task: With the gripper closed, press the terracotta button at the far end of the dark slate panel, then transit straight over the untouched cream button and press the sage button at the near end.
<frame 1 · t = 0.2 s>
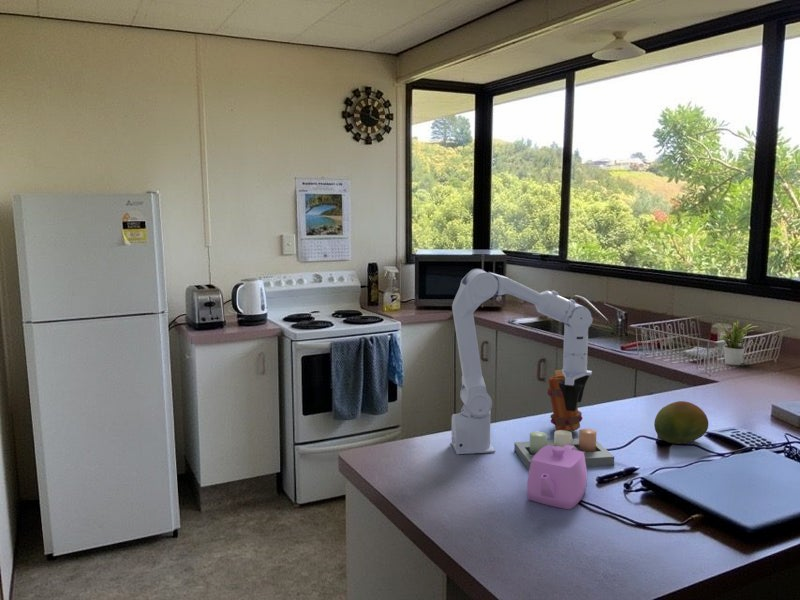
hand: (573, 406, 159), 10 cm above the worktop, fingers open, 7 cm apart
fruit: (679, 443, 160), on the worktop
house plant: (736, 364, 234), on the worktop
teapot: (556, 496, 132), on the worktop
button terracotta: (587, 440, 152), point 4 cm above the worktop, slide at 0.0 cm
button cream: (562, 441, 151), point 4 cm above the worktop, slide at 0.0 cm
mug: (567, 428, 170), on the worktop
button sage: (538, 443, 151), point 4 cm above the worktop, slide at 0.0 cm
panel: (562, 457, 152), on the worktop
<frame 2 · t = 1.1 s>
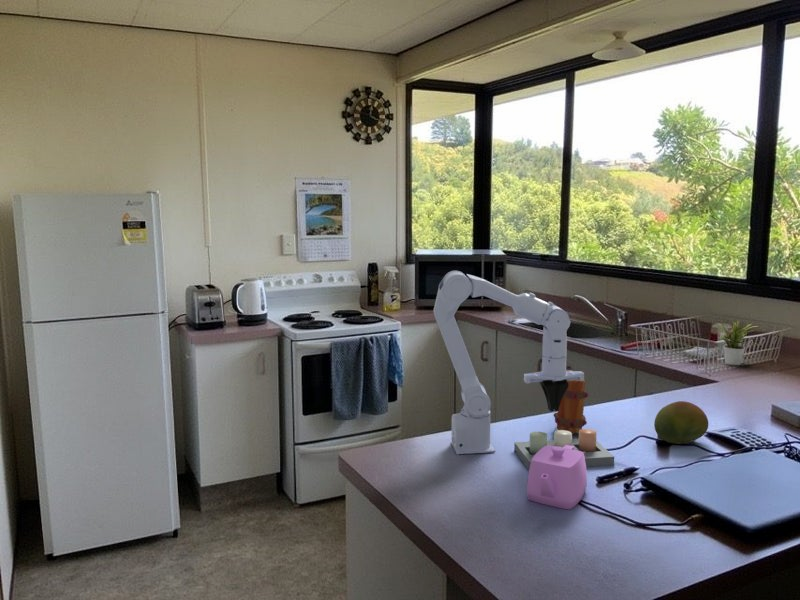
hand: (553, 409, 157), 9 cm above the worktop, fingers closed
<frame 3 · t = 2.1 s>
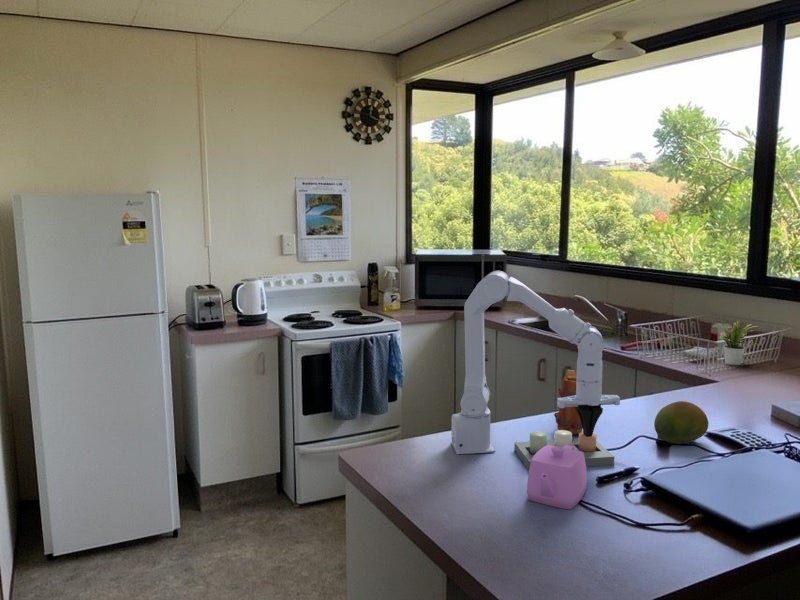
hand: (587, 435, 152), 5 cm above the worktop, fingers closed, pressing on button terracotta
button terracotta: (587, 443, 152), point 3 cm above the worktop, slide at 0.8 cm, touching gripper
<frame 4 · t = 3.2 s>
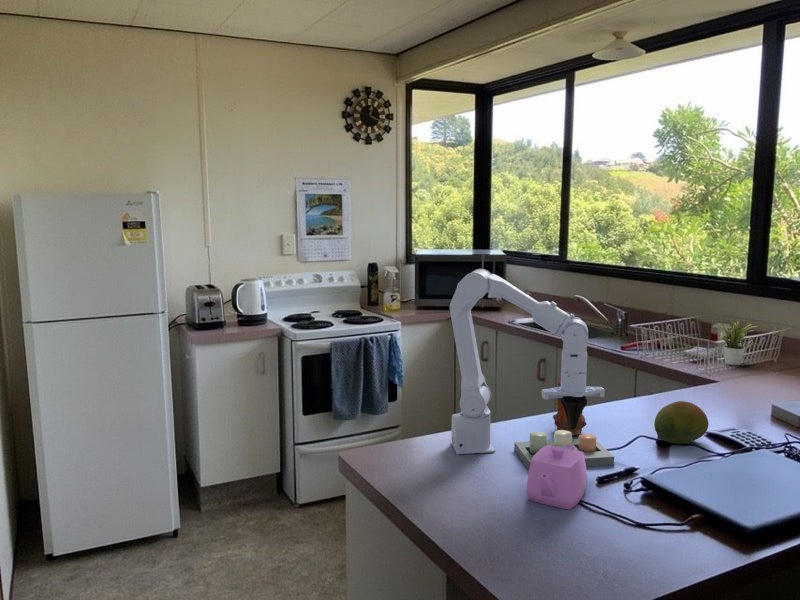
hand: (572, 426, 151), 7 cm above the worktop, fingers closed
button terracotta: (587, 445, 152), point 3 cm above the worktop, slide at 1.3 cm
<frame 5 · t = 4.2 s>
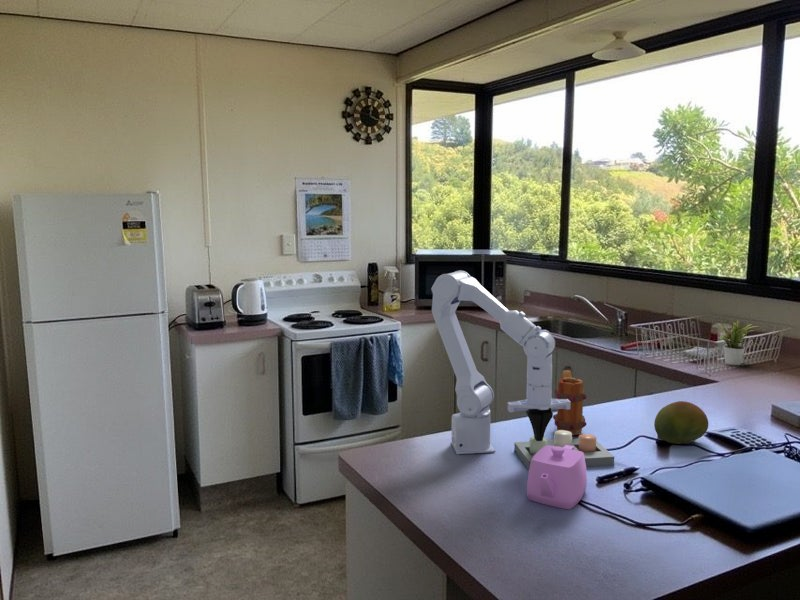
hand: (538, 439, 150), 5 cm above the worktop, fingers closed, pressing on button sage
button sage: (538, 448, 151), point 3 cm above the worktop, slide at 1.2 cm, touching gripper
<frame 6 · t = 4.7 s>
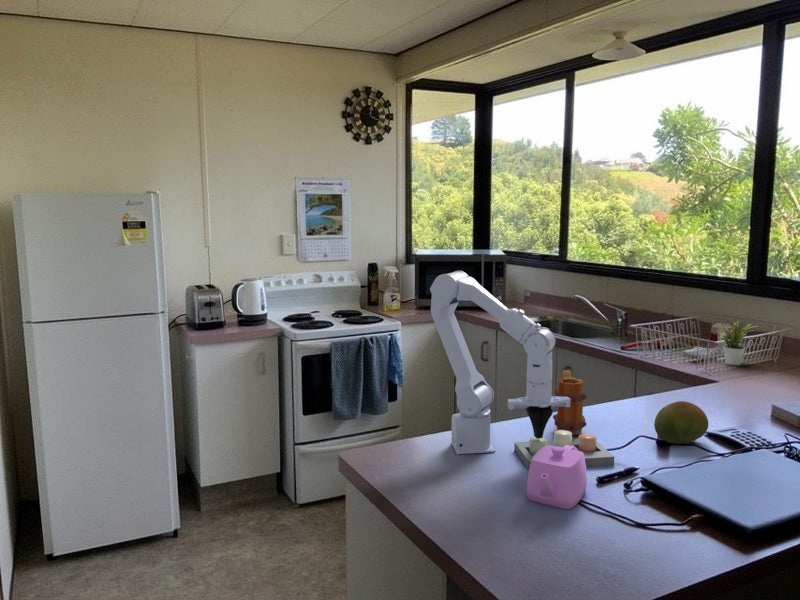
hand: (538, 436, 150), 5 cm above the worktop, fingers closed
button sage: (538, 448, 151), point 3 cm above the worktop, slide at 1.3 cm
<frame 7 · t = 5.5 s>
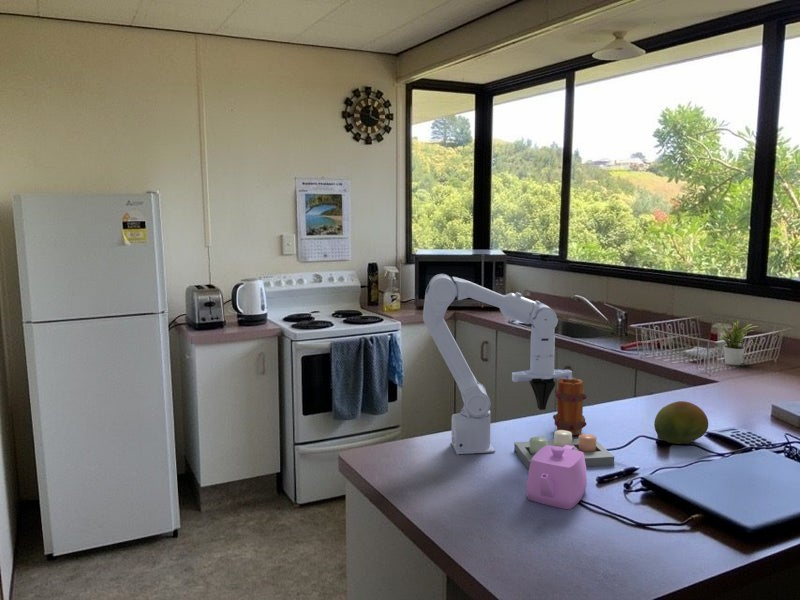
hand: (541, 408, 157), 10 cm above the worktop, fingers closed
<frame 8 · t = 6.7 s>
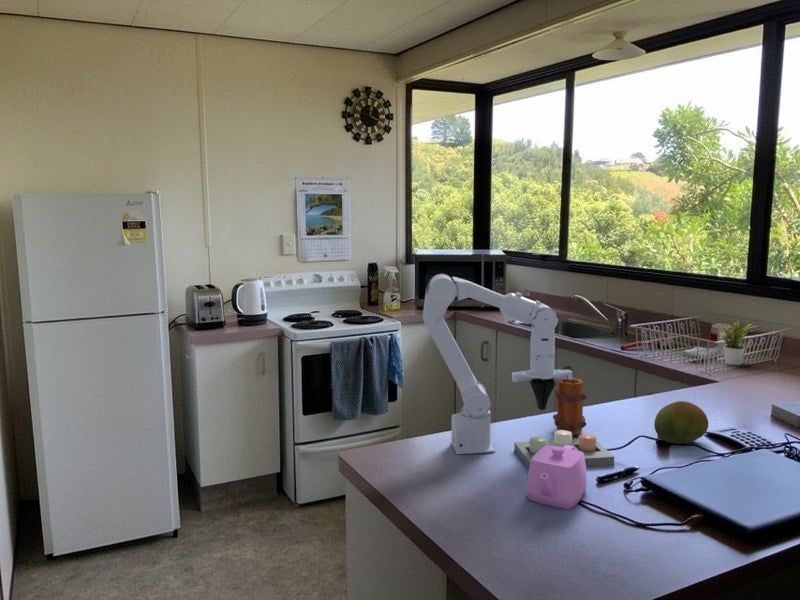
hand: (541, 408, 157), 10 cm above the worktop, fingers closed
at the end: button terracotta slide at 1.3 cm; button sage slide at 1.3 cm; button cream slide at 0.0 cm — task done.
